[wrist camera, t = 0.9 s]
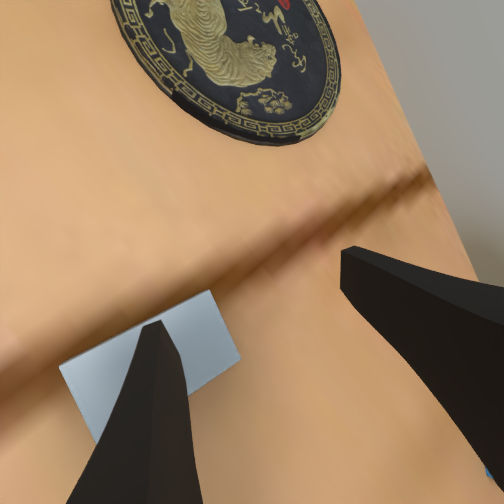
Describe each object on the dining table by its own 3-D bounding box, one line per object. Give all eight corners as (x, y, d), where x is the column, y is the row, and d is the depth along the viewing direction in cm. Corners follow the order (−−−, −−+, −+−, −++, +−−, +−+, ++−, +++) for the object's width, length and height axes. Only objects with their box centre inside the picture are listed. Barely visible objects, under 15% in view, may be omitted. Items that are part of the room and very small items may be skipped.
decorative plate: (285, -77, 39) (373, 116, 40) (278, -61, 40) (363, 123, 42) (46, -129, 25) (194, 169, 26) (51, -102, 26) (190, 177, 28)
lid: (233, 355, 26) (241, 359, 25) (103, 443, 21) (102, 456, 19) (202, 290, 26) (209, 289, 24) (63, 361, 20) (58, 366, 19)
